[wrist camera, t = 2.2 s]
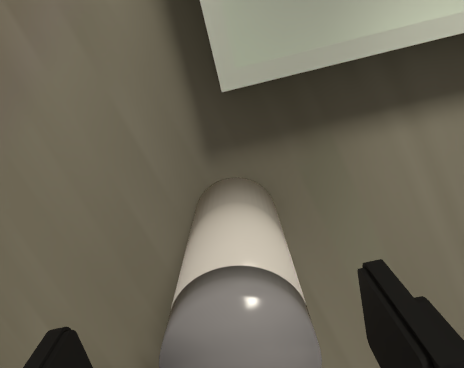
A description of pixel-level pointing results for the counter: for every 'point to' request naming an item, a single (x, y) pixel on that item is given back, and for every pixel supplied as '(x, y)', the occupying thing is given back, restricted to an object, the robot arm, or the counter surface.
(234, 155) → the counter surface
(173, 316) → the shaker
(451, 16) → the tray
